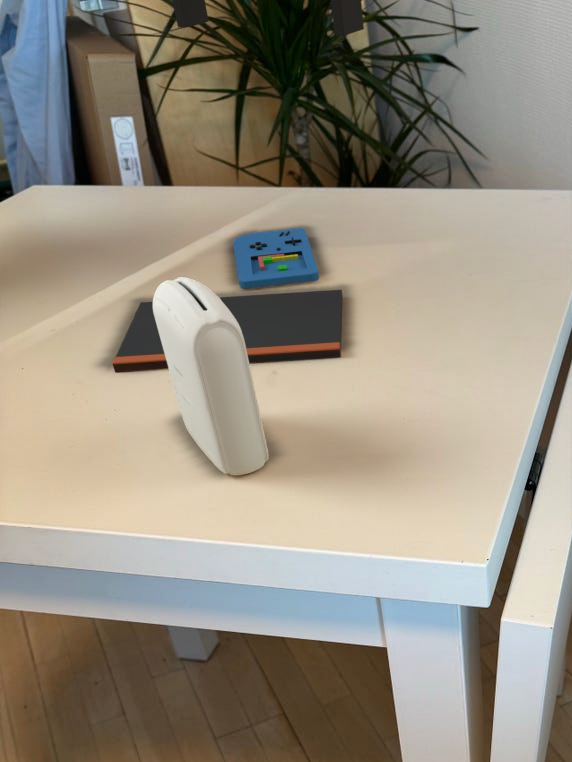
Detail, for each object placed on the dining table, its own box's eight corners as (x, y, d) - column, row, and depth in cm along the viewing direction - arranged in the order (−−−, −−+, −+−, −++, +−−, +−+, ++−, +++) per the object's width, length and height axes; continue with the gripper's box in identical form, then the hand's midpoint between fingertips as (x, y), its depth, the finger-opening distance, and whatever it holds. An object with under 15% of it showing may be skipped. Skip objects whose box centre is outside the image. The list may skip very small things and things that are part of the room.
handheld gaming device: (303, 224, 105) (318, 269, 94) (305, 234, 105) (320, 280, 95) (231, 232, 103) (238, 279, 93) (233, 242, 104) (240, 290, 93)
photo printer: (178, 427, 72) (135, 270, 64) (229, 412, 74) (193, 257, 66) (223, 484, 66) (181, 318, 58) (278, 467, 68) (245, 303, 59)
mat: (114, 372, 80) (111, 362, 80) (142, 309, 90) (140, 301, 90) (340, 357, 81) (339, 347, 81) (342, 297, 92) (341, 288, 91)
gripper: (425, -436, 50) (445, 26, 64) (80, -387, 58) (166, 13, 72) (355, -462, 45) (394, 45, 59) (-12, -405, 53) (100, 29, 67)
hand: (269, 28), depth 65 cm, fingers open, 13 cm apart
